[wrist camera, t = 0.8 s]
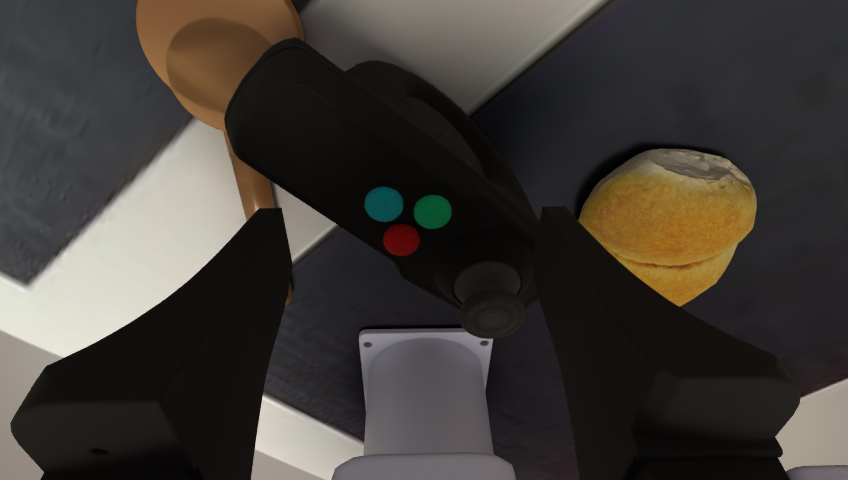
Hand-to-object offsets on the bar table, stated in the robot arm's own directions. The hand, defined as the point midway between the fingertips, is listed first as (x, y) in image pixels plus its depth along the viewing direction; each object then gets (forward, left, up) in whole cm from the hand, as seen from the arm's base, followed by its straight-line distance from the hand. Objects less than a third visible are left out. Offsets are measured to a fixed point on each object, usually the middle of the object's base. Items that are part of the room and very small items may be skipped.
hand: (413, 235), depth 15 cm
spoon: (-3, +7, -9) cm, 12 cm away
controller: (-1, 0, -10) cm, 10 cm away
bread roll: (-7, -12, -10) cm, 17 cm away
